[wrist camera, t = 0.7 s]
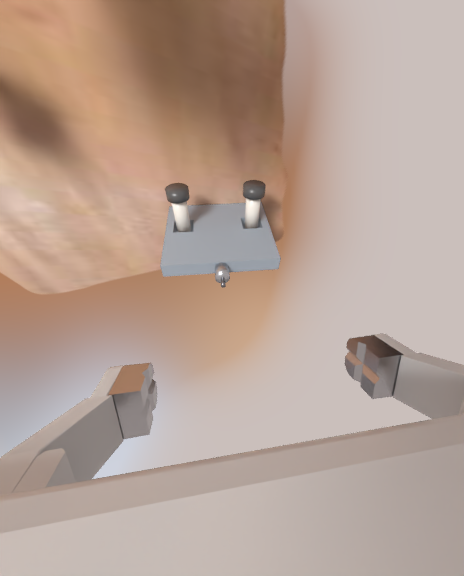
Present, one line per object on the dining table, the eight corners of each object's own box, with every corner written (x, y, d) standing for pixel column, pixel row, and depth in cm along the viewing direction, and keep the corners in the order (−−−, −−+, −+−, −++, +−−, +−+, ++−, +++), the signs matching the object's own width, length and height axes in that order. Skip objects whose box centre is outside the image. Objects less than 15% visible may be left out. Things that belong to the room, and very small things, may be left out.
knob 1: (166, 183, 48) (164, 194, 45) (188, 182, 48) (187, 193, 45) (175, 224, 56) (173, 236, 53) (194, 223, 56) (193, 235, 53)
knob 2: (242, 180, 49) (244, 191, 46) (263, 179, 49) (267, 190, 46) (240, 221, 57) (242, 232, 54) (259, 220, 57) (262, 231, 54)
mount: (165, 206, 59) (155, 266, 45) (265, 202, 61) (285, 258, 47) (171, 232, 65) (164, 292, 51) (262, 227, 67) (279, 284, 53)
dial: (213, 263, 46) (214, 282, 43) (227, 261, 46) (229, 280, 43) (216, 273, 48) (217, 291, 45) (229, 271, 48) (231, 289, 45)
